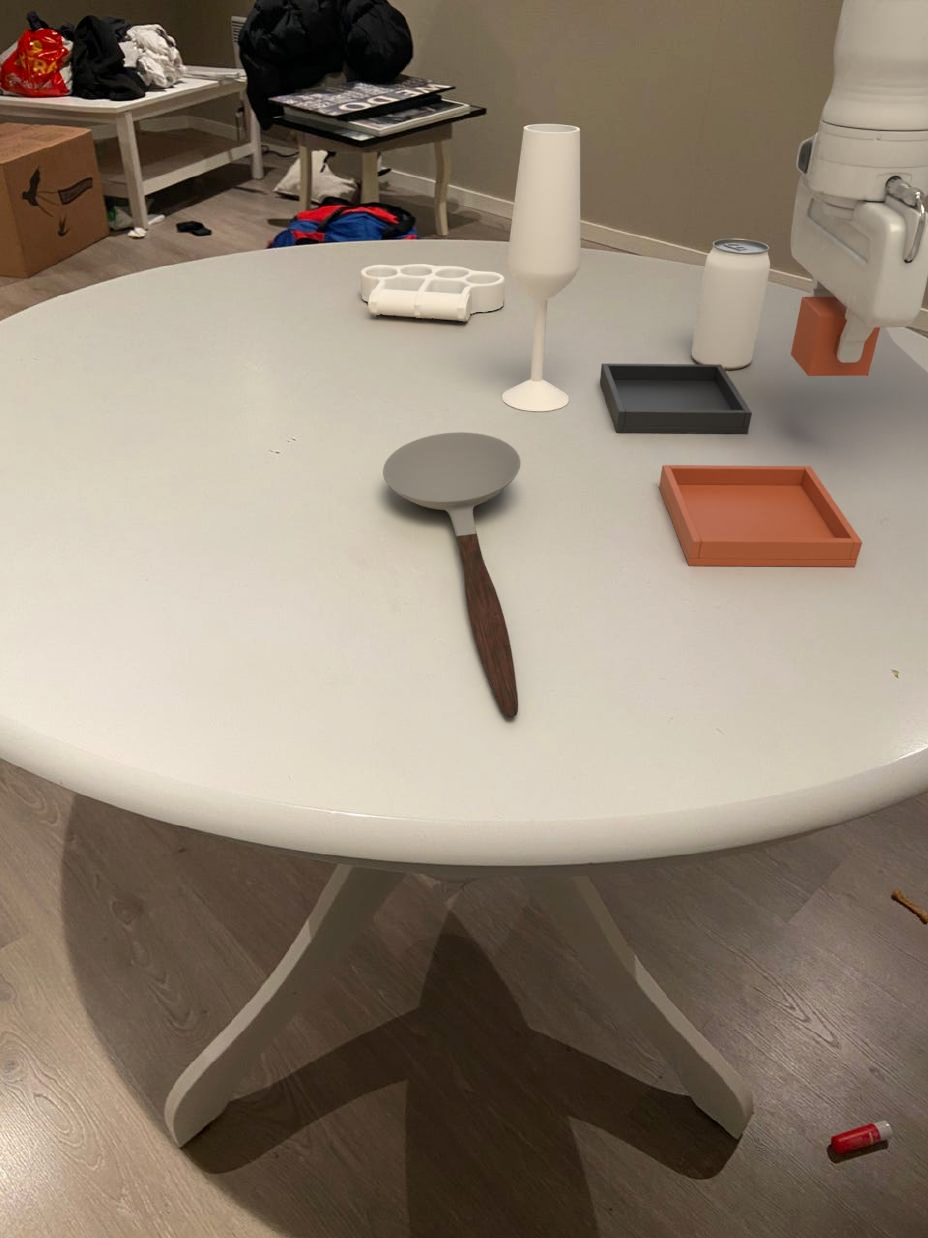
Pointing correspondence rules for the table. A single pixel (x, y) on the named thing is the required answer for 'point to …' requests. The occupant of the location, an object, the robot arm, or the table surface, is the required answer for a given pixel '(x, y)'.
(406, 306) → the white brass knuckles
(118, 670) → the table surface
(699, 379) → the charcoal tray
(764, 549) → the terracotta tray
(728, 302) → the can
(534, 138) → the champagne flute
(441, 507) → the spoon
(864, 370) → the block
